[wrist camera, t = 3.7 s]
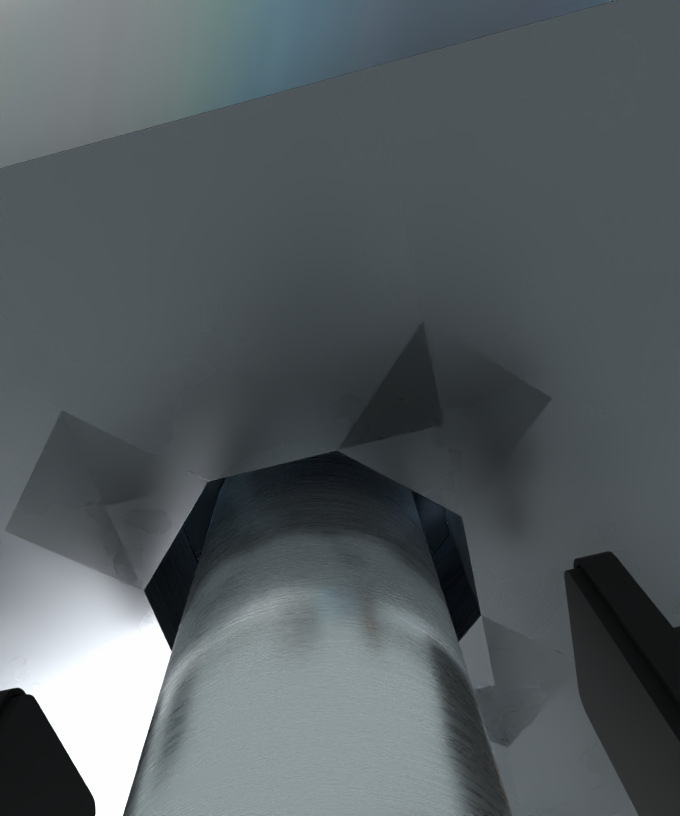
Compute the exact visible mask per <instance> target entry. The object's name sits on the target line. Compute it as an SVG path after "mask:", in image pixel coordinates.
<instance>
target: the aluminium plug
mask: <svg viewBox="0 0 680 816" xmlns="http://www.w3.org/2000/svg"><path fill="white" fill-rule="evenodd" d="M123 816H513V813H512V810H511V807H510V804H509V801H508V798H507V794H506V791H505V788H504V785H503V782H502V779H501V775H500V772H499V769H498V766H497V763H496V759H495V756H494V753H493V750H492V747H491V744H490V740H489V737H488V734H487V731H486V728H485V725H484V721H483V718H482V715H481V712H480V709H479V705H478V702H477V699H476V696H475V693H474V690H473V686H472V683H471V680H470V677H469V674H468V671H467V667H466V664H465V661H464V658H463V655H462V651H461V648H460V645H459V642H458V639H457V636H456V632H455V629H454V626H453V623H452V620H451V617H450V613H449V610H448V607H447V604H446V601H445V597H444V594H443V591H442V588H441V585H440V582H439V578H438V575H437V572H436V569H435V566H434V563H433V559H432V556H431V553H430V550H429V547H428V543H427V540H426V537H425V534H424V531H423V528H422V524H421V521H420V518H419V515H418V512H417V509H416V505H415V502H414V499H413V496H412V493H411V489H409V488H407V487H405V486H403V485H401V484H399V483H398V482H396V481H394V480H392V479H390V478H388V477H386V476H384V475H382V474H381V473H379V472H377V471H375V470H373V469H371V468H369V467H367V466H365V465H364V464H362V463H360V462H358V461H356V460H354V459H352V458H350V457H348V456H347V455H345V454H343V453H341V452H339V451H333V452H329V453H325V454H320V455H316V456H312V457H308V458H304V459H300V460H296V461H291V462H287V463H283V464H279V465H275V466H271V467H267V468H263V469H258V470H254V471H250V472H246V473H242V474H238V475H234V476H229V477H226V479H225V481H224V483H223V485H222V487H221V489H220V492H219V495H218V498H217V501H216V505H215V508H214V511H213V515H212V518H211V521H210V525H209V528H208V532H207V535H206V538H205V542H204V545H203V548H202V552H201V555H200V558H199V562H198V565H197V568H196V572H195V575H194V578H193V582H192V585H191V588H190V592H189V595H188V598H187V602H186V605H185V608H184V612H183V615H182V619H181V622H180V625H179V629H178V632H177V635H176V639H175V642H174V645H173V649H172V652H171V655H170V659H169V662H168V665H167V669H166V672H165V675H164V679H163V682H162V685H161V689H160V692H159V695H158V699H157V702H156V706H155V709H154V712H153V716H152V719H151V722H150V726H149V729H148V732H147V736H146V739H145V742H144V746H143V749H142V752H141V756H140V759H139V762H138V766H137V769H136V772H135V776H134V779H133V783H132V786H131V789H130V793H129V796H128V799H127V803H126V806H125V809H124V813H123Z"/></svg>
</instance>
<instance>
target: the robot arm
mask: <svg viewBox="0 0 680 816" xmlns="http://www.w3.org/2000/svg"><path fill="white" fill-rule="evenodd" d="M573 567H574V569H570V570H566V571H565V572H564V580H565V588H566V596H567V603H568V611H569V619H570V627H571V635H572V643H573V651H574V659H575V667H576V675H577V683H578V690H579V695H580V699H581V702H582V705H583V707H584V710H585V712H586V714H587V716H588V718H589V720H590V722H591V724H592V726H593V728H594V730H595V732H596V734H597V736H598V738H599V740H600V742H601V744H602V745H603V747H604V749H605V751H606V753H607V755H608V757H609V759H610V761H611V763H612V765H613V767H614V769H615V771H616V773H617V775H618V777H619V779H620V781H621V782H622V784H623V786H624V788H625V790H626V792H627V794H628V796H629V798H630V800H631V802H632V804H633V806H634V808H635V810H636V812H637V814H638V816H680V626H678V627H674V628H673V627H672V625H671V624H670V623H669V622H668V620H667V619H666V618H665V617H664V615H663V614H662V613H661V612H660V610H659V609H658V608H657V607H656V605H655V604H654V603H653V602H652V600H651V599H650V598H649V597H648V595H647V594H646V593H645V592H644V591H643V589H642V588H641V587H640V586H639V584H638V583H637V582H636V581H635V579H634V578H633V577H632V576H631V574H630V573H629V572H628V571H627V569H626V568H625V567H624V566H623V564H622V563H621V562H620V561H619V560H618V558H617V557H616V556H615V555H614V554H613V553H612V552H610V551H607V552H602V553H598V554H594V555H589V556H585V557H581V558H576V559H575V560H574V563H573ZM95 814H96V805H95V800H94V797H93V795H92V793H91V792H90V790H89V788H88V786H87V785H86V783H85V781H84V780H83V778H82V776H81V775H80V773H79V771H78V770H77V768H76V766H75V764H74V763H73V761H72V759H71V758H70V756H69V754H68V753H67V751H66V749H65V748H64V746H63V744H62V742H61V741H60V739H59V737H58V736H57V734H56V732H55V731H54V729H53V727H52V726H51V724H50V722H49V721H48V719H47V717H46V715H45V714H44V712H43V710H42V709H41V707H40V705H39V704H38V702H37V700H36V699H35V697H34V696H33V695H31V694H26V693H25V691H24V690H22V689H20V688H11V689H7V690H3V691H0V816H95Z"/></svg>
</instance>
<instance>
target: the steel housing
mask: <svg viewBox="0 0 680 816" xmlns="http://www.w3.org/2000/svg"><path fill="white" fill-rule="evenodd" d="M333 451H339V452H341V453H343V454H345V455H347V456H348V457H350V458H352V459H354V460H356V461H358V462H360V463H362V464H364V465H365V466H367V467H369V468H371V469H373V470H375V471H377V472H379V473H381V474H382V475H384V476H386V477H388V478H390V479H392V480H394V481H396V482H398V483H399V484H401V485H403V486H405V487H407V488H409V489H411V490H413V491H415V492H416V493H418V494H420V495H422V496H424V497H426V498H428V499H430V500H432V501H433V502H435V503H437V504H439V505H441V506H443V507H444V508H445V513H446V518H447V523H448V528H449V532H450V534H449V536H448V537H447V538H446V540H445V541H444V542H443V543H442V545H441V546H440V547H439V549H438V550H437V551H436V553H435V554H434V555H433V556H432V559H433V563H434V566H435V569H436V572H437V575H438V578H439V582H440V585H441V588H442V591H443V594H444V597H445V601H446V604H447V607H448V610H449V613H450V617H451V620H452V623H453V626H454V629H455V632H456V636H457V639H458V642H459V645H460V648H461V651H462V655H463V658H464V661H465V664H466V667H467V671H468V674H469V677H470V680H471V683H472V686H473V690H474V693H475V696H476V699H477V702H478V705H479V709H480V712H481V715H482V718H483V721H484V725H485V728H486V731H487V734H488V737H489V740H490V744H491V747H492V750H493V753H494V756H495V759H496V763H497V766H498V769H499V772H500V775H501V779H502V782H503V785H504V788H505V791H506V794H507V798H508V801H509V804H510V807H511V810H512V813H513V816H638V814H637V812H636V810H635V808H634V806H633V804H632V802H631V800H630V798H629V796H628V794H627V792H626V790H625V788H624V786H623V784H622V782H621V781H620V779H619V777H618V775H617V773H616V771H615V769H614V767H613V765H612V763H611V761H610V759H609V757H608V755H607V753H606V751H605V749H604V747H603V745H602V744H601V742H600V740H599V738H598V736H597V734H596V732H595V730H594V728H593V726H592V724H591V722H590V720H589V718H588V716H587V714H586V712H585V710H584V707H583V705H582V702H581V699H580V695H579V690H578V683H577V675H576V667H575V659H574V651H573V643H572V635H571V627H570V619H569V611H568V603H567V596H566V588H565V580H564V572H565V571H566V570H570V569H574V567H573V563H574V560H575V559H576V558H581V557H585V556H589V555H594V554H598V553H602V552H607V551H610V552H612V553H613V554H614V555H615V556H616V557H617V558H618V560H619V561H620V562H621V563H622V564H623V566H624V567H625V568H626V569H627V571H628V572H629V573H630V574H631V576H632V577H633V578H634V579H635V581H636V582H637V583H638V584H639V586H640V587H641V588H642V589H643V591H644V592H645V593H646V594H647V595H648V597H649V598H650V599H651V600H652V602H653V603H654V604H655V605H656V607H657V608H658V609H659V610H660V612H661V613H662V614H663V615H664V617H665V618H666V619H667V620H668V622H669V623H670V624H671V625H672V627H673V628H674V627H678V626H680V0H616V1H613V2H609V3H605V4H602V5H598V6H594V7H591V8H587V9H583V10H580V11H576V12H572V13H569V14H565V15H561V16H558V17H554V18H550V19H547V20H543V21H539V22H536V23H532V24H528V25H525V26H521V27H517V28H514V29H510V30H506V31H503V32H499V33H495V34H492V35H488V36H484V37H481V38H477V39H473V40H470V41H466V42H462V43H459V44H455V45H451V46H448V47H444V48H440V49H437V50H433V51H429V52H426V53H422V54H418V55H415V56H411V57H407V58H404V59H400V60H396V61H393V62H389V63H385V64H382V65H378V66H374V67H371V68H367V69H363V70H360V71H356V72H352V73H349V74H345V75H341V76H338V77H334V78H330V79H327V80H323V81H319V82H316V83H312V84H308V85H305V86H301V87H297V88H294V89H290V90H286V91H283V92H279V93H275V94H272V95H268V96H264V97H261V98H257V99H253V100H250V101H246V102H242V103H239V104H235V105H231V106H228V107H224V108H220V109H217V110H213V111H209V112H206V113H202V114H198V115H195V116H191V117H187V118H184V119H180V120H176V121H173V122H169V123H165V124H162V125H158V126H154V127H151V128H147V129H143V130H140V131H136V132H132V133H129V134H125V135H121V136H118V137H114V138H110V139H107V140H103V141H99V142H96V143H92V144H88V145H85V146H81V147H77V148H74V149H70V150H66V151H63V152H59V153H55V154H52V155H48V156H44V157H41V158H37V159H33V160H30V161H26V162H22V163H19V164H15V165H11V166H8V167H4V168H0V691H3V690H7V689H11V688H20V689H22V690H24V691H25V693H26V694H31V695H33V696H34V697H35V699H36V700H37V702H38V704H39V705H40V707H41V709H42V710H43V712H44V714H45V715H46V717H47V719H48V721H49V722H50V724H51V726H52V727H53V729H54V731H55V732H56V734H57V736H58V737H59V739H60V741H61V742H62V744H63V746H64V748H65V749H66V751H67V753H68V754H69V756H70V758H71V759H72V761H73V763H74V764H75V766H76V768H77V770H78V771H79V773H80V775H81V776H82V778H83V780H84V781H85V783H86V785H87V786H88V788H89V790H90V792H91V793H92V795H93V797H94V800H95V805H96V814H95V816H123V813H124V809H125V806H126V803H127V799H128V796H129V793H130V789H131V786H132V783H133V779H134V776H135V772H136V769H137V766H138V762H139V759H140V756H141V752H142V749H143V746H144V742H145V739H146V736H147V732H148V729H149V726H150V722H151V719H152V716H153V712H154V709H155V706H156V702H157V699H158V695H159V692H160V689H161V685H162V682H163V679H164V675H165V672H166V669H167V665H168V662H169V659H170V655H171V652H172V649H173V645H174V642H175V639H176V635H177V632H178V629H179V625H180V622H181V619H182V615H183V612H184V608H185V605H186V602H187V598H188V595H189V592H190V588H191V585H192V582H193V578H194V575H195V572H196V568H197V565H198V563H197V561H196V558H195V556H194V553H193V551H192V548H191V546H190V543H189V541H188V538H187V536H186V533H185V531H184V529H183V526H182V525H183V523H184V522H185V520H186V518H187V517H188V515H189V513H190V512H191V510H192V508H193V506H194V505H195V503H196V501H197V500H198V498H199V496H200V495H201V493H202V491H203V489H204V488H205V486H206V484H207V483H208V482H209V481H213V480H217V479H221V478H225V477H229V476H234V475H238V474H242V473H246V472H250V471H254V470H258V469H263V468H267V467H271V466H275V465H279V464H283V463H287V462H291V461H296V460H300V459H304V458H308V457H312V456H316V455H320V454H325V453H329V452H333Z"/></svg>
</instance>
